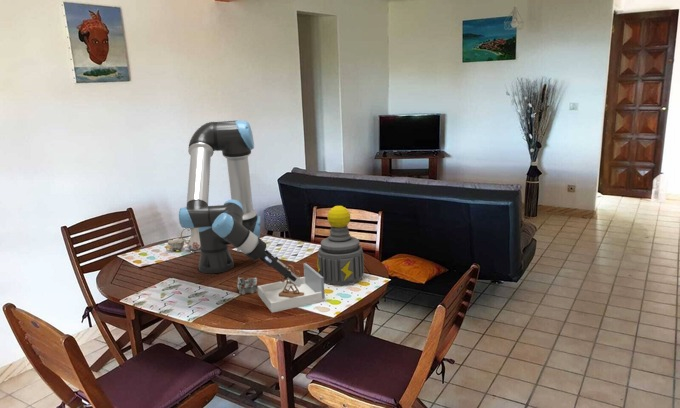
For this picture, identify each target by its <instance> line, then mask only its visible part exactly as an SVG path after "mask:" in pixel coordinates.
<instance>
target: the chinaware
mask: <svg viewBox="0 0 680 408" xmlns="http://www.w3.org/2000/svg"><path fill="white" fill-rule="evenodd" d="M185 230H187V232H190V237H189V239H186V238H183V236H182V234H183V232H184V231H185ZM198 230H199V228H182V229H181V230H180V234H179V235H180V237H175V238H174V239H169V240H167V244H166V245H165V250H166V251H171V250H172V251H171V252H174V250H180V251H181V249H183V247H184V246H185V245H187V249H188V250H189V252H190V251H192V252H200V253H201V246H200V237H199V232H198ZM168 246H169V247H170V249H168ZM192 252H191V253H192Z"/></svg>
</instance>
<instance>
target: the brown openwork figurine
mask: <svg viewBox="0 0 680 408" xmlns="http://www.w3.org/2000/svg"><path fill="white" fill-rule="evenodd" d="M285 266H286V267H285V268H286V269H287V270H289V269H290V270H291V272H292V273H293V274H295V275H296V276H297V277H299V278H300V277H301V271H300V270H298V269H297V270H295V267H294V266H293V265H291V264H287V265H285ZM287 267H288V268H287ZM280 275H281V276H280V279H279V280H280V281H282V282H284V281H285V279H284V276H283V275H282V274H280ZM286 281H287V284H293V285H294V286H295V288H296V290H295V291H294V289H293V288H292V286H290V288H291V289H292V290H293V291H289V290H290V288H289V289H288V290H287V289H286V286H287V284H286V286H285V288H284V290H283V291H282V292H280V293H279V296H280V297H288V298H293V297H298V296H302V295H304V293H303V292H299V290H298V289H297V287H296V285H295V284H294V283H292V282H291V281H290V282H288V279H286ZM297 291H298V292H297Z"/></svg>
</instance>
